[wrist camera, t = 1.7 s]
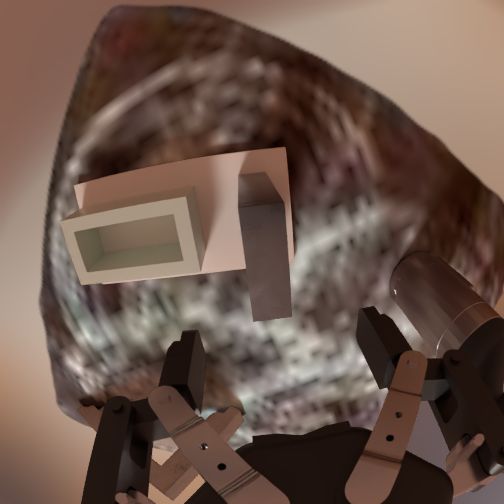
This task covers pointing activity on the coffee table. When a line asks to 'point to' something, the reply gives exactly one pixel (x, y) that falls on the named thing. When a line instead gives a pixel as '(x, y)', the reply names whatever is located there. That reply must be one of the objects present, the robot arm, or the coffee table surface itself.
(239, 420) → the wall bracket
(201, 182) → the well board
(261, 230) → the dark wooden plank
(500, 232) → the coffee table surface
